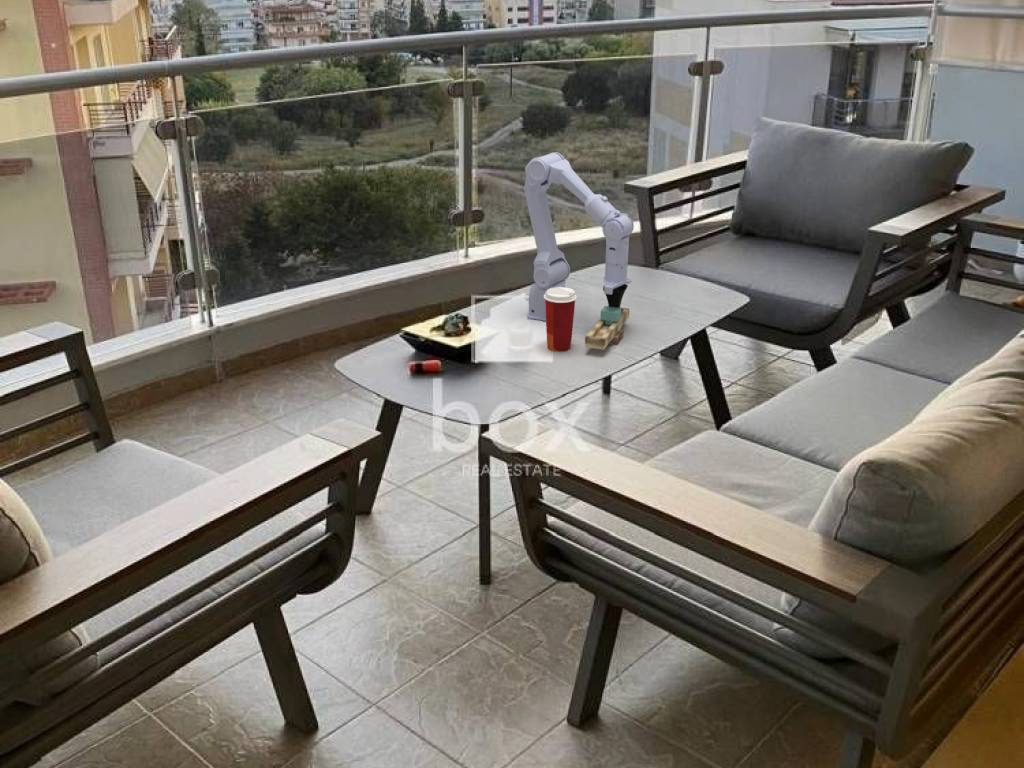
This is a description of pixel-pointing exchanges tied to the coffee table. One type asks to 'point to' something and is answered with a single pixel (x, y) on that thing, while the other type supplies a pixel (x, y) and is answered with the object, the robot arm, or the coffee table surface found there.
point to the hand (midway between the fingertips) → (614, 311)
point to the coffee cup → (559, 317)
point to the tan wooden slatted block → (607, 332)
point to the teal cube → (610, 314)
